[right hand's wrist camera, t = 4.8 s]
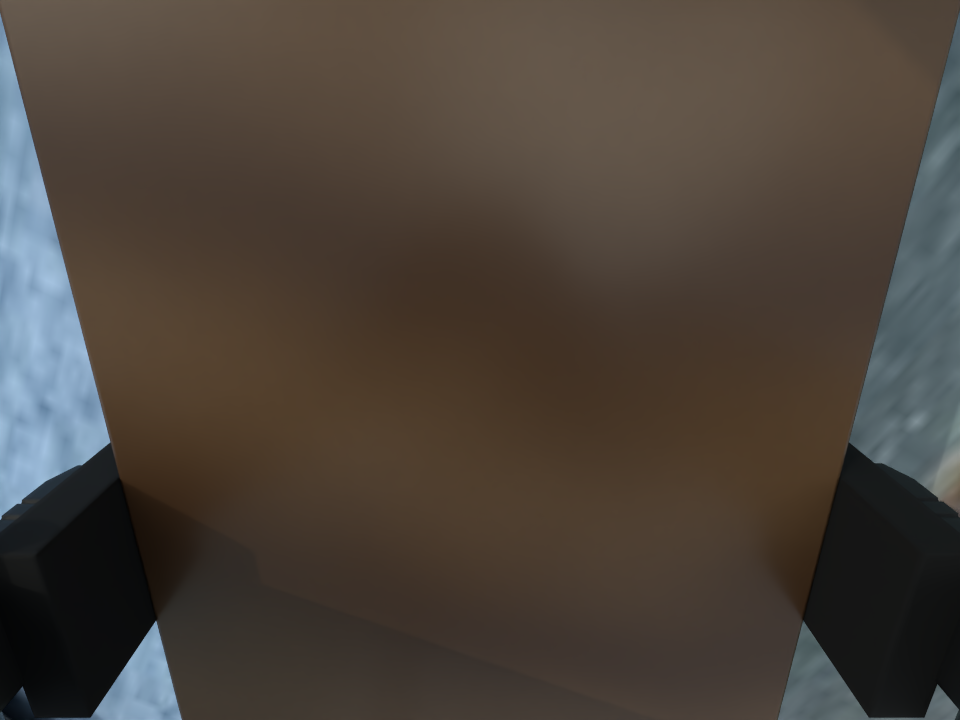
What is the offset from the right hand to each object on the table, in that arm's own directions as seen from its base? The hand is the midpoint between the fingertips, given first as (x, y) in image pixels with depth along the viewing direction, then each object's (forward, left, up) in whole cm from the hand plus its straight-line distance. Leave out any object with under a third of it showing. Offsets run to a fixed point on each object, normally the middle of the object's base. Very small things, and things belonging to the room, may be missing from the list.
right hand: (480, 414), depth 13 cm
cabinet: (+4, +3, -3) cm, 6 cm away
